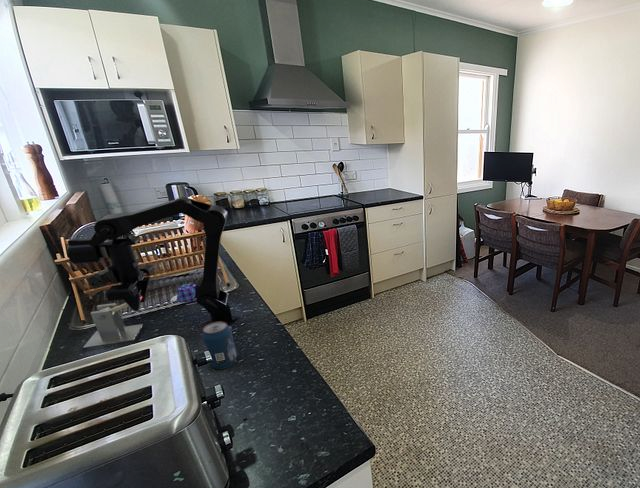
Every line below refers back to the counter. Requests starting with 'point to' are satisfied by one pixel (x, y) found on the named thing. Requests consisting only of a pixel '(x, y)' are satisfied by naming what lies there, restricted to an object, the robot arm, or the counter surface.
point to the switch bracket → (111, 328)
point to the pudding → (185, 293)
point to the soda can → (219, 344)
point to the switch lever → (119, 307)
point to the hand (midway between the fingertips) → (139, 306)
